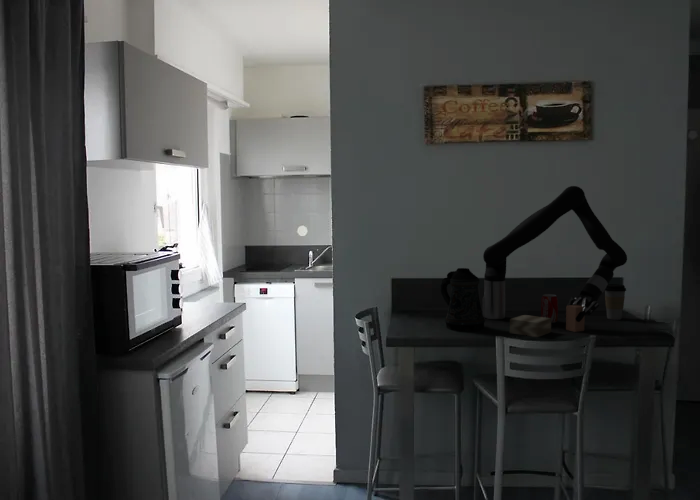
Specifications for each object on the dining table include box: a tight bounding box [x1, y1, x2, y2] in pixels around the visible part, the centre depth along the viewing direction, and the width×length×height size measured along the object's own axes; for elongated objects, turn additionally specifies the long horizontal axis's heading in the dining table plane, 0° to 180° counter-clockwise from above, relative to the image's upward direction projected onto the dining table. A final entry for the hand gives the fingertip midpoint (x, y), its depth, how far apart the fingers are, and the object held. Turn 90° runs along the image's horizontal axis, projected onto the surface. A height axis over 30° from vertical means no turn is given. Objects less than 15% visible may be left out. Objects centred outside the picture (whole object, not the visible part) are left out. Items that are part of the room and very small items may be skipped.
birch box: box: [509, 314, 552, 338], centre depth 253 cm, size 12×12×6 cm
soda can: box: [540, 293, 559, 324], centre depth 273 cm, size 7×7×12 cm
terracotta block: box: [565, 304, 586, 333], centre depth 256 cm, size 5×5×10 cm
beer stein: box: [439, 267, 486, 332], centre depth 264 cm, size 16×19×25 cm
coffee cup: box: [604, 283, 627, 321], centre depth 280 cm, size 9×9×15 cm
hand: (572, 319), depth 256 cm, fingers closed on terracotta block, 5 cm apart
